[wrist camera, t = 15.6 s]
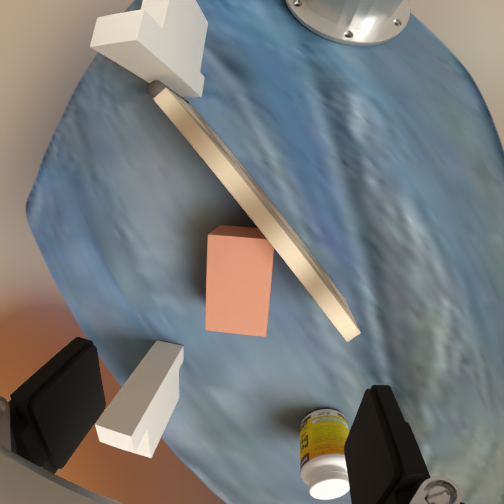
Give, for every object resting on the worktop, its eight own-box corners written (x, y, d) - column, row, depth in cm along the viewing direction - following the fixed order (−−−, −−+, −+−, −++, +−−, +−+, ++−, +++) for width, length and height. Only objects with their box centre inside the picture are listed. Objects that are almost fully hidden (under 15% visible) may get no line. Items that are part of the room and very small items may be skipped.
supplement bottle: (299, 407, 33) (301, 476, 23) (348, 404, 32) (363, 471, 22) (298, 440, 34) (299, 505, 24) (343, 437, 33) (354, 500, 24)
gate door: (174, 106, 27) (144, 88, 20) (184, 97, 26) (156, 76, 19) (334, 306, 29) (347, 341, 23) (344, 298, 29) (360, 332, 22)
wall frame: (183, 24, 25) (122, -54, 11) (213, 23, 25) (167, -63, 11) (159, 393, 34) (111, 479, 21) (183, 399, 34) (142, 489, 20)
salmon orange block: (220, 224, 29) (207, 234, 24) (276, 229, 29) (274, 240, 24) (217, 306, 31) (205, 329, 26) (268, 312, 31) (265, 336, 26)
